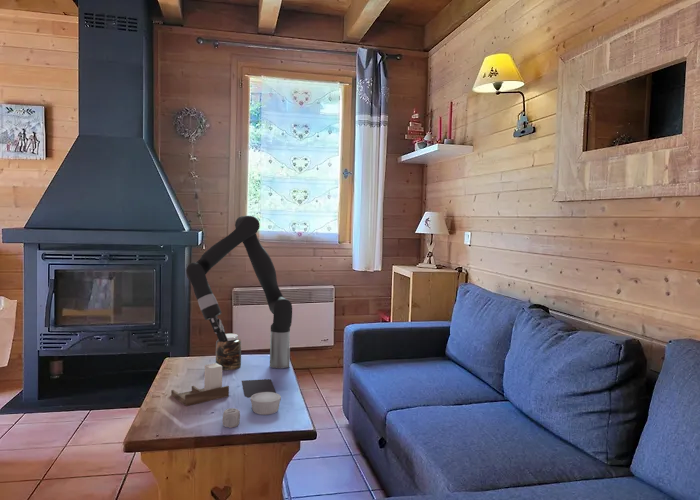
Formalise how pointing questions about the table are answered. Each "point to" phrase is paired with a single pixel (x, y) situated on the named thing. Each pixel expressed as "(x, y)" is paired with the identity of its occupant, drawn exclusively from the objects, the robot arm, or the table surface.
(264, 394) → the ramekin
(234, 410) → the die
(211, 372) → the cream block
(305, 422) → the table surface
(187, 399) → the lane rack
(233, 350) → the jar
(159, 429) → the table surface
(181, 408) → the table surface
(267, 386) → the notebook
